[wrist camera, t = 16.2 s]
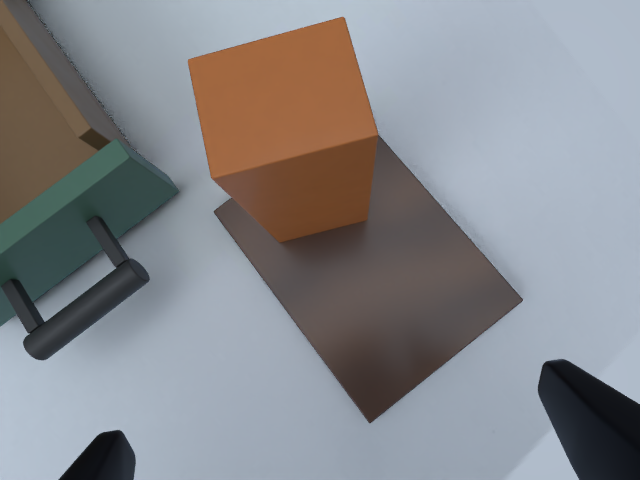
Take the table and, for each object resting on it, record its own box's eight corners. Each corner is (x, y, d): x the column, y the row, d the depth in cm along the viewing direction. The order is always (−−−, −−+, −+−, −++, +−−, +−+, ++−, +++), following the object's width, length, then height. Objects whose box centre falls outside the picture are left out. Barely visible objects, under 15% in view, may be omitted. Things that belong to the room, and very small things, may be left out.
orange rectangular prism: (367, 220, 23) (378, 134, 12) (279, 242, 23) (210, 179, 12) (349, 152, 23) (344, 15, 13) (263, 175, 24) (186, 58, 13)
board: (519, 300, 22) (523, 300, 21) (369, 420, 21) (369, 423, 21) (352, 109, 25) (352, 104, 24) (216, 213, 24) (212, 211, 24)
